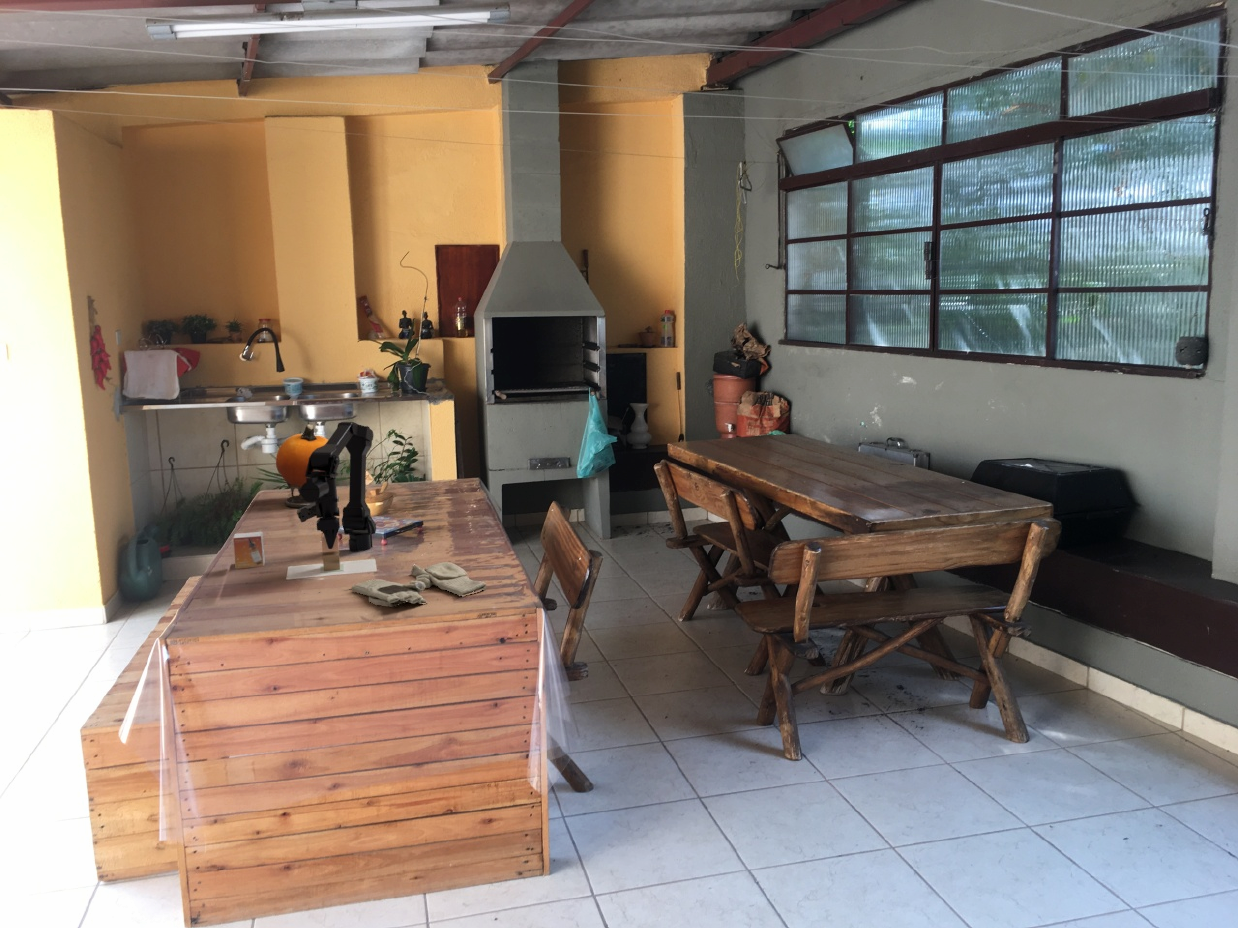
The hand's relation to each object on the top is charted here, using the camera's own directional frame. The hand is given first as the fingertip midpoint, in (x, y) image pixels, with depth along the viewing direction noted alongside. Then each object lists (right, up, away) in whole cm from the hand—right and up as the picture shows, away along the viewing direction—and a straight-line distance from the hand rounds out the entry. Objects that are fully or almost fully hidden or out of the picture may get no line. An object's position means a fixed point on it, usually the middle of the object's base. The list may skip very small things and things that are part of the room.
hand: (330, 546), depth 298 cm
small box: (-26, -7, +7) cm, 28 cm away
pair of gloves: (+29, -12, -16) cm, 35 cm away
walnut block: (0, -6, +1) cm, 6 cm away
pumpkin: (-33, +9, +91) cm, 97 cm away
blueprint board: (0, -8, +2) cm, 8 cm away
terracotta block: (0, -1, 0) cm, 1 cm away
